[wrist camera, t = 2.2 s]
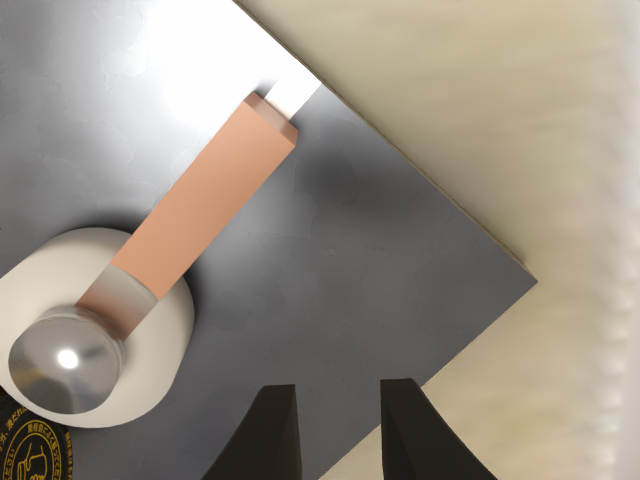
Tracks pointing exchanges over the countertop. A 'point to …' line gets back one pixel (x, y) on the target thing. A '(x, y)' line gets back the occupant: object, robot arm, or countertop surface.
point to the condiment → (32, 445)
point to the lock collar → (145, 266)
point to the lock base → (227, 233)
